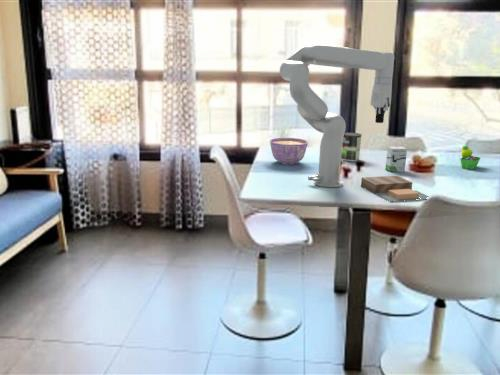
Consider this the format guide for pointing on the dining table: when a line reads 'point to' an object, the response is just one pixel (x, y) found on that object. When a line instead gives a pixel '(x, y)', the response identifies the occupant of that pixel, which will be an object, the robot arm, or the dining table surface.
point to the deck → (385, 183)
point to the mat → (390, 198)
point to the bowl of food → (288, 149)
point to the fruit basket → (468, 159)
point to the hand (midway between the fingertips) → (379, 122)
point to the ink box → (396, 159)
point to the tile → (403, 193)
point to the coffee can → (351, 146)
